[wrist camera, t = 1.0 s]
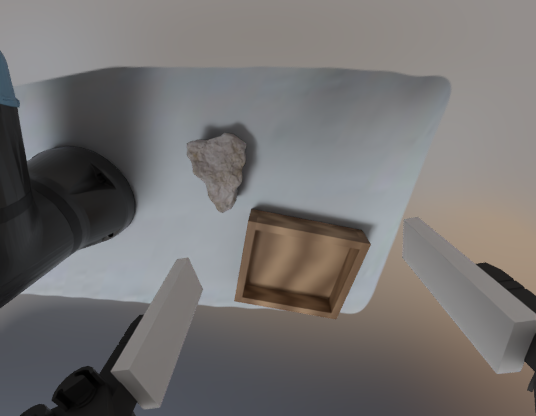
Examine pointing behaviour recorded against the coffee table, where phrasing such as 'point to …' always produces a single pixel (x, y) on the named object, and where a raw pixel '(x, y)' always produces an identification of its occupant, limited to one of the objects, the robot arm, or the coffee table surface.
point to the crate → (299, 264)
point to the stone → (219, 167)
